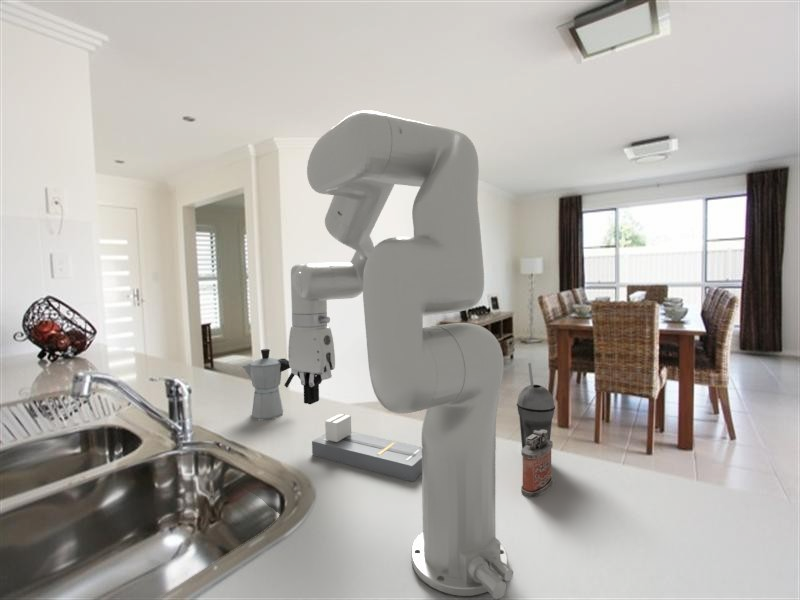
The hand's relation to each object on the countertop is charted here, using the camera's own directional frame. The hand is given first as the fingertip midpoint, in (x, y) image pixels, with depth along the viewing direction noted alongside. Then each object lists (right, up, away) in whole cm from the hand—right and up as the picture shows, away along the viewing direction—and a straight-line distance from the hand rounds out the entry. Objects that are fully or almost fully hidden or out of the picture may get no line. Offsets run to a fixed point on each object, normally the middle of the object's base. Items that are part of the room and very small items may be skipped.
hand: (311, 401), depth 91 cm
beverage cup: (+47, -10, -10) cm, 49 cm away
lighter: (+44, -11, -19) cm, 49 cm away
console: (+14, -10, -7) cm, 18 cm away
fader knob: (+7, -7, -3) cm, 10 cm away
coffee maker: (-16, -9, +21) cm, 28 cm away
